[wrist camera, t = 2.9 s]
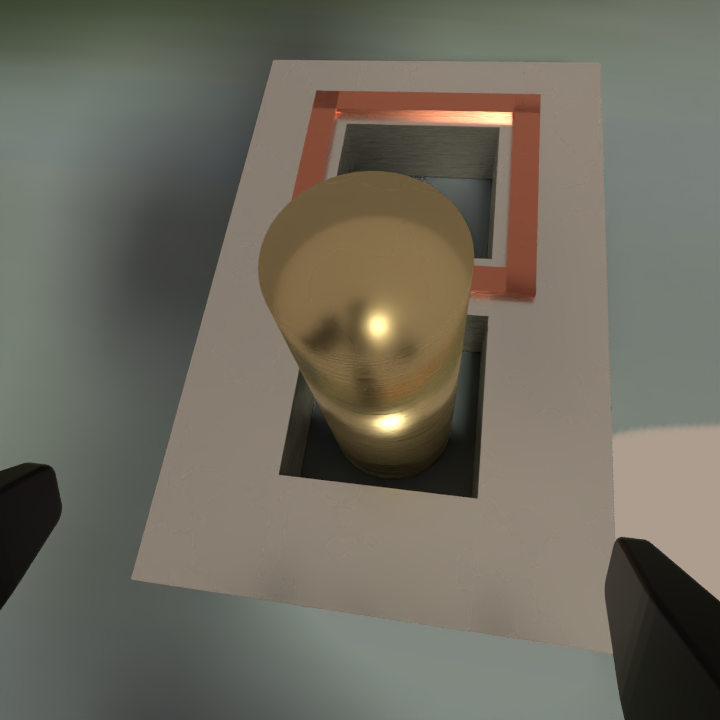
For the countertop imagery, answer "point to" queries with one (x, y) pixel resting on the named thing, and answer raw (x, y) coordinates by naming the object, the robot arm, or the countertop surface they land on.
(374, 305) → the brass peg
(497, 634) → the socket plate
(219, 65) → the countertop surface
